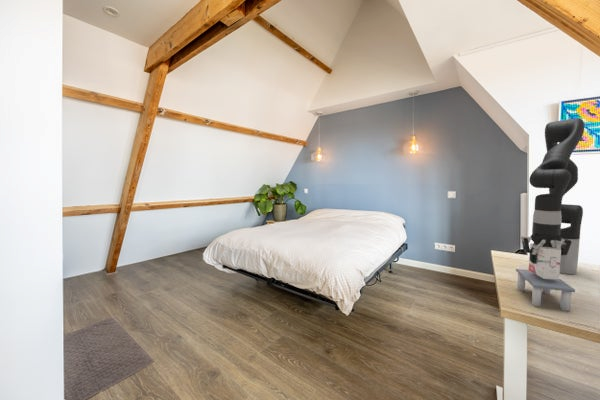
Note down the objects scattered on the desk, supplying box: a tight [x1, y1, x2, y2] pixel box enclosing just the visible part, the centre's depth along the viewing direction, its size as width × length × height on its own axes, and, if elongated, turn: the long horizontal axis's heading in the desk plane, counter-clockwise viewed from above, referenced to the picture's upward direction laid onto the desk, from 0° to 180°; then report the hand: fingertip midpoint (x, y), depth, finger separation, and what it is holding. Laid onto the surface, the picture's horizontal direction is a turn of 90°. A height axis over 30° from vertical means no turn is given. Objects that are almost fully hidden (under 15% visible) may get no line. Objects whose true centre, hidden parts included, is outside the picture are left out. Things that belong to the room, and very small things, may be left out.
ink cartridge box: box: [528, 240, 561, 279], centre depth 92 cm, size 9×5×15 cm, turn 168°
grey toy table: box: [515, 268, 576, 312], centre depth 93 cm, size 16×11×8 cm
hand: (543, 263), depth 92 cm, fingers closed on ink cartridge box, 5 cm apart
